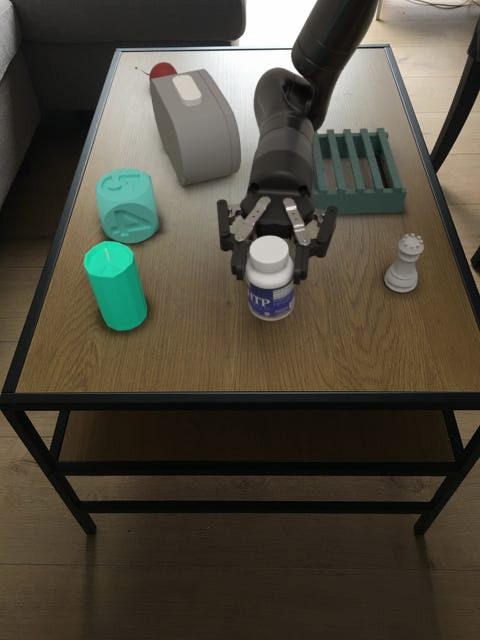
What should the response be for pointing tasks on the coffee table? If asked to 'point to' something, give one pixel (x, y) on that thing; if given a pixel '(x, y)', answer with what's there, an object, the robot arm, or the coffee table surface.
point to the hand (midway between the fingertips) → (268, 276)
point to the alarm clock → (196, 126)
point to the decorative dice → (127, 205)
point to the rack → (357, 173)
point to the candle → (116, 285)
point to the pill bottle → (270, 279)
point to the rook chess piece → (405, 265)
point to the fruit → (161, 70)
